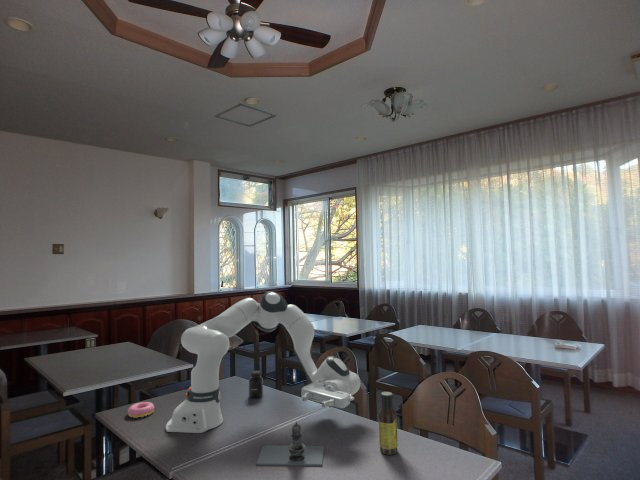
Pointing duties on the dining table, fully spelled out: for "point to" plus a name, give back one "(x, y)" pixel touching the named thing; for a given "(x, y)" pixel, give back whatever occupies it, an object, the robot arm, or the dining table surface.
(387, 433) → the sauce bottle
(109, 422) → the dining table surface
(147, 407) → the doughnut
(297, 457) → the dark carved figurine
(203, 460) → the dining table surface
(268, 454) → the mat
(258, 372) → the supplement bottle
